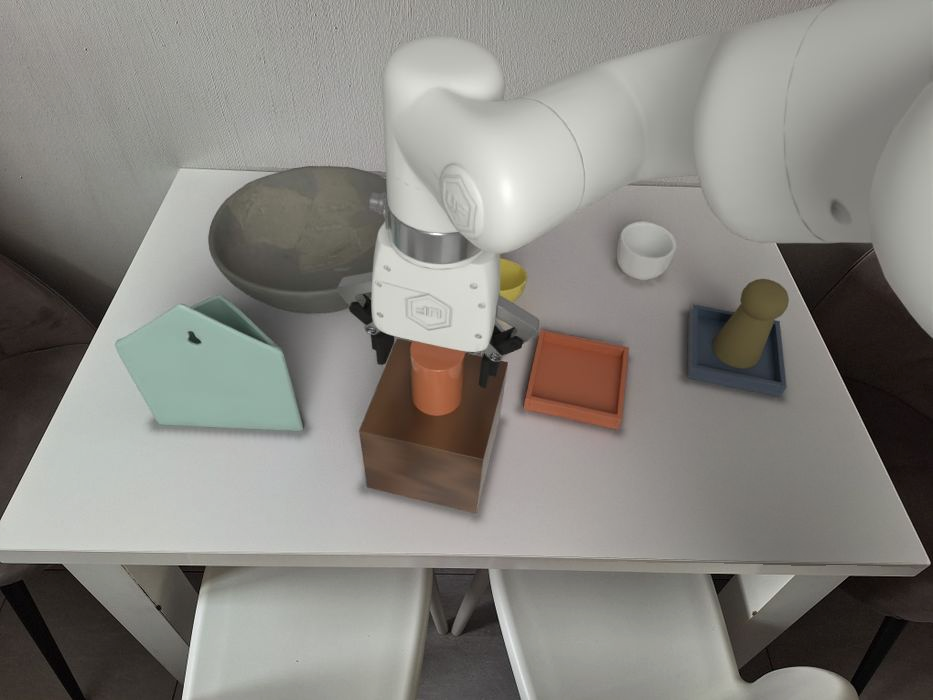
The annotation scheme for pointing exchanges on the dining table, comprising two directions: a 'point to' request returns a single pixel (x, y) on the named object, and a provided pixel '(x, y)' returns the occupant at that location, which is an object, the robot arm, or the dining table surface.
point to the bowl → (298, 236)
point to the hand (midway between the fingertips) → (435, 364)
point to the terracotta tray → (578, 379)
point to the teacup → (645, 250)
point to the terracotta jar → (436, 378)
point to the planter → (211, 369)
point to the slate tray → (711, 369)
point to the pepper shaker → (751, 324)
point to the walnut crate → (431, 436)
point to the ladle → (511, 279)
